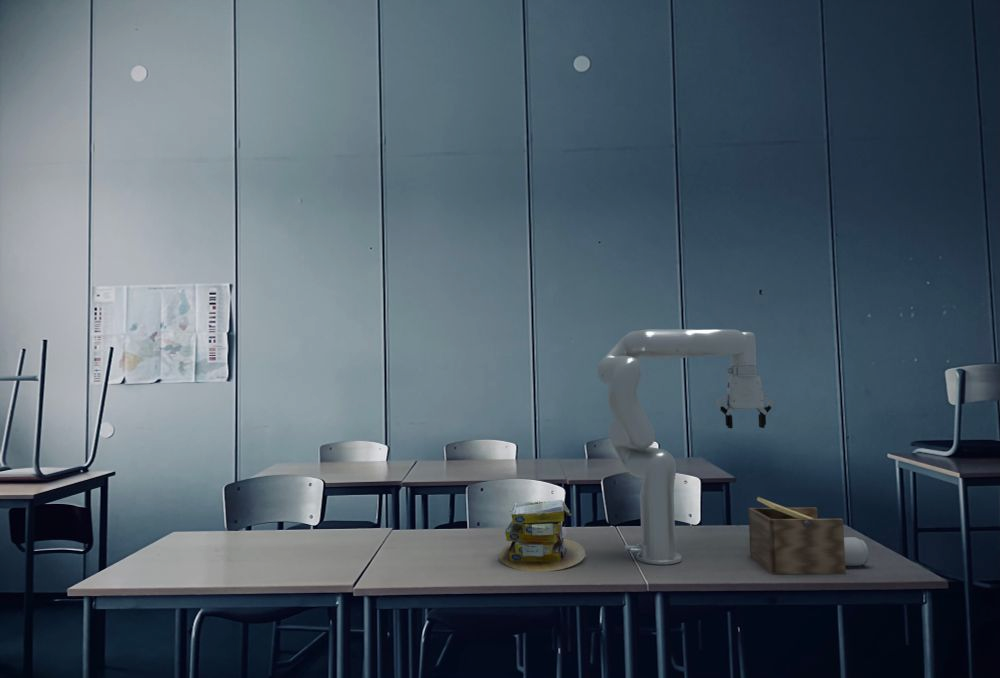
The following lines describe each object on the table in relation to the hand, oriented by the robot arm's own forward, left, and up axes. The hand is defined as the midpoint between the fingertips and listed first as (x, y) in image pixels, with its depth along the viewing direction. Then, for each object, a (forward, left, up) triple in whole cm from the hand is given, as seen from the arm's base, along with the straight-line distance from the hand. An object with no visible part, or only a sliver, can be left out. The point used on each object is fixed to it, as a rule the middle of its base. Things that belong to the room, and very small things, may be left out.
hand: (745, 427), depth 207 cm
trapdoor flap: (+6, -19, -23) cm, 30 cm away
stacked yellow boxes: (-63, -11, -37) cm, 74 cm away
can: (+12, -20, -33) cm, 40 cm away
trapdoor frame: (+6, -19, -36) cm, 41 cm away
